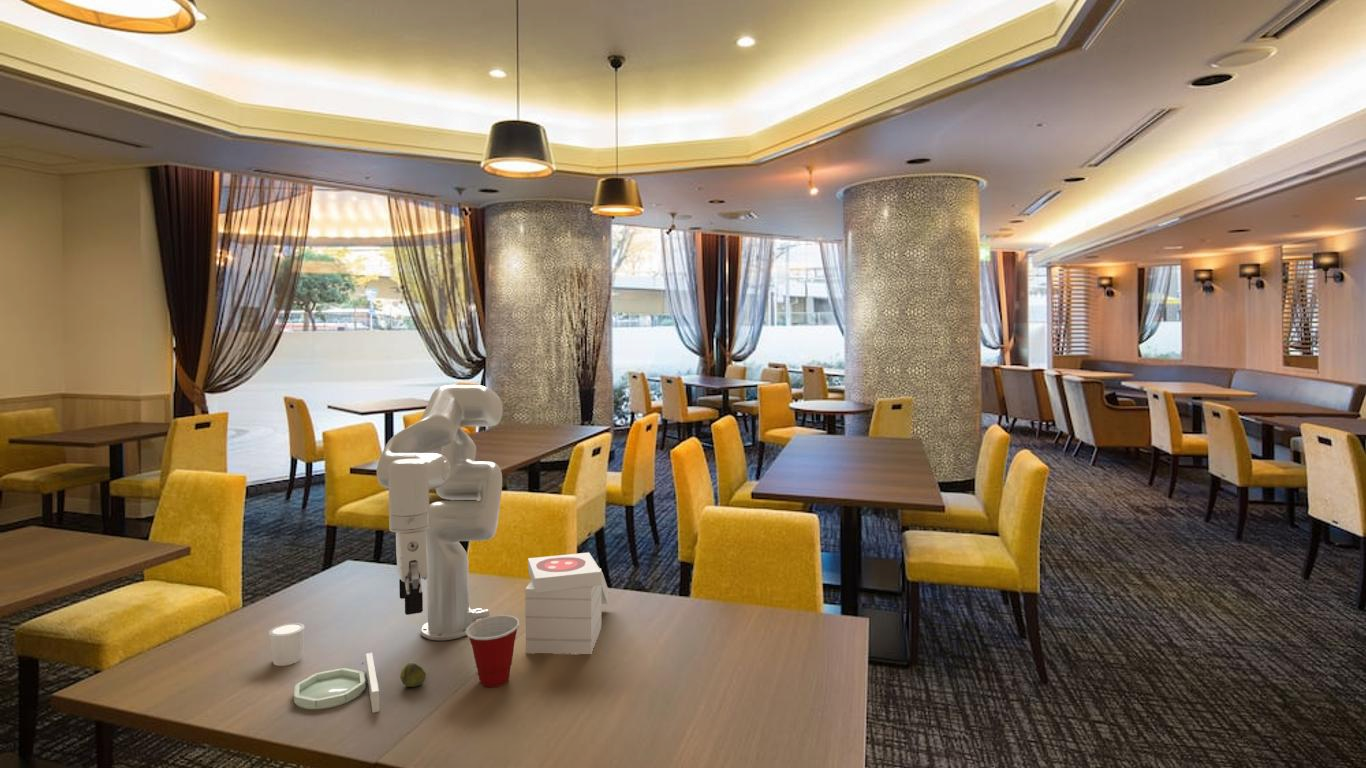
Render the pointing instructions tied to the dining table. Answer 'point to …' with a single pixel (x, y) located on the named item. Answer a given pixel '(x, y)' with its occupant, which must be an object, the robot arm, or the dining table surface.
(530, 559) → the pizza boxes
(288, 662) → the white cylinder
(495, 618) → the plastic cup
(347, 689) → the dish
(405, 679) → the lime
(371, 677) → the fence
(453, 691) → the dining table surface
